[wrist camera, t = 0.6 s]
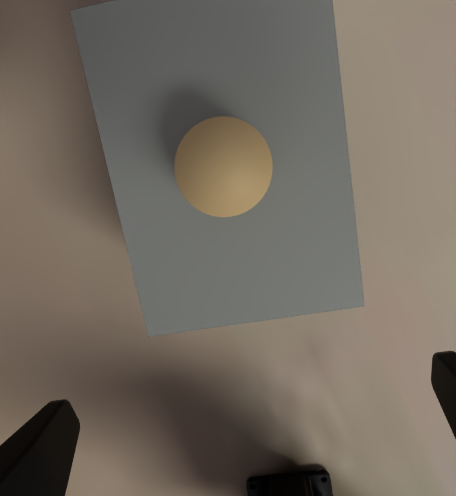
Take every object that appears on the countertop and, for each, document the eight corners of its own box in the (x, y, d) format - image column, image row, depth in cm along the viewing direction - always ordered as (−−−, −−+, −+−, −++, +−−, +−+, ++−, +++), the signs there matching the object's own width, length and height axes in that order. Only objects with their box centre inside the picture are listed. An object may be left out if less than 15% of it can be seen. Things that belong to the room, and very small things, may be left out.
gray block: (324, 256, 25) (379, 325, 14) (182, 278, 26) (135, 358, 15) (296, 34, 22) (340, -86, 12) (137, 68, 23) (41, -14, 12)
